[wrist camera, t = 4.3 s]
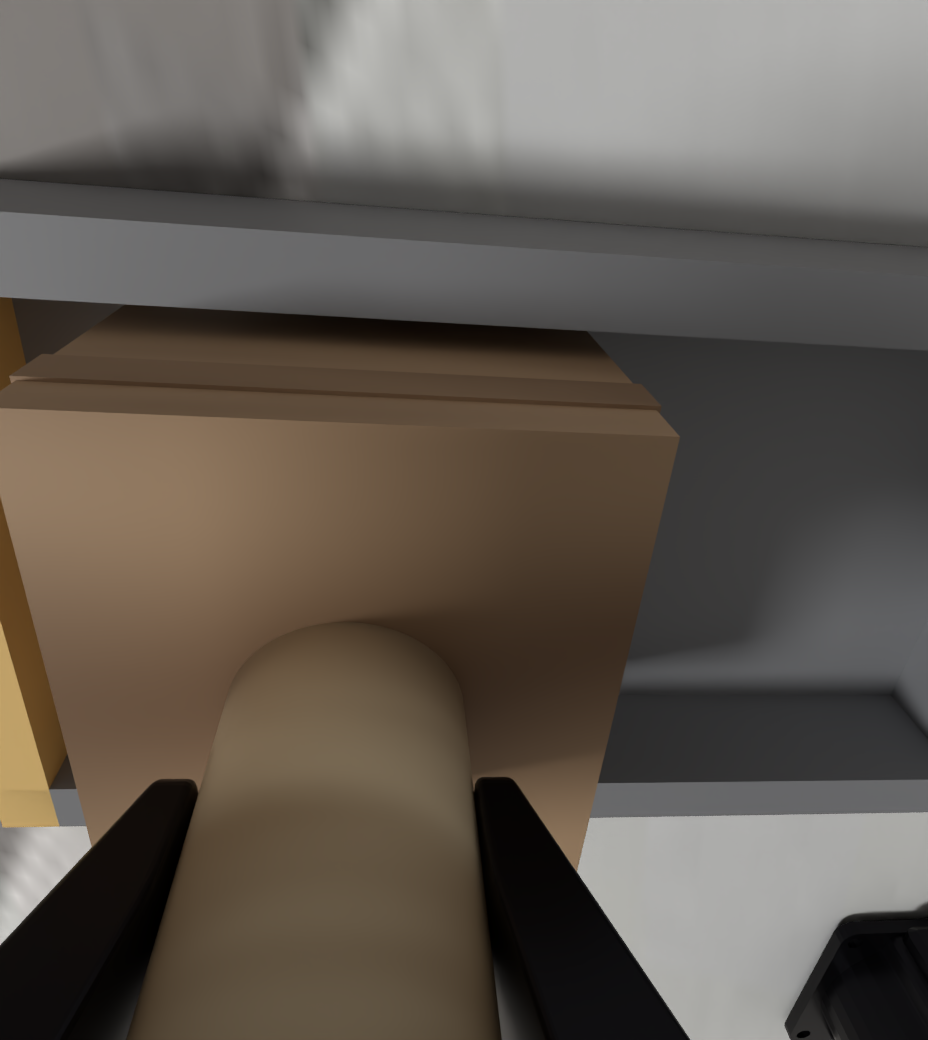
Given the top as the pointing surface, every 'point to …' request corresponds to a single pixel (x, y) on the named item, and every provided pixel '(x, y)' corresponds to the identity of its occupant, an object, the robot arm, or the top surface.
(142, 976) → the robot arm
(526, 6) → the top surface
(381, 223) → the bay
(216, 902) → the tan block with peg
